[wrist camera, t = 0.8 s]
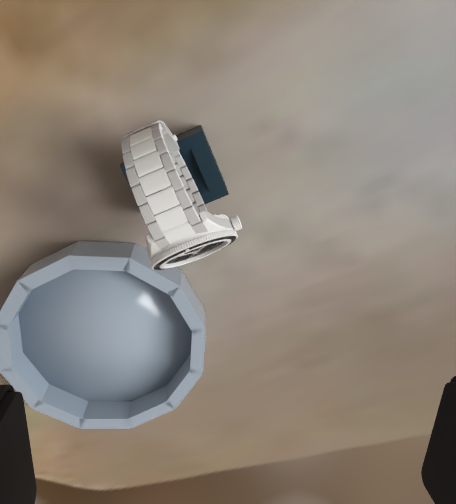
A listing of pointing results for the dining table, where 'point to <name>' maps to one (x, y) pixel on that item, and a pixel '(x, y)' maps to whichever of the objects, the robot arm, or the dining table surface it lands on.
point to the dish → (102, 336)
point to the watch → (176, 194)
